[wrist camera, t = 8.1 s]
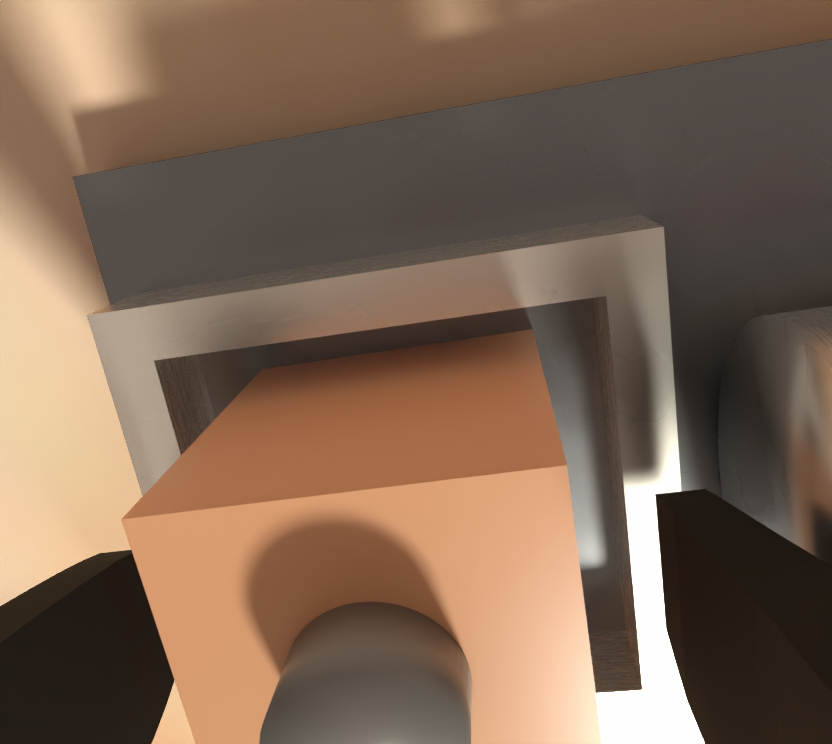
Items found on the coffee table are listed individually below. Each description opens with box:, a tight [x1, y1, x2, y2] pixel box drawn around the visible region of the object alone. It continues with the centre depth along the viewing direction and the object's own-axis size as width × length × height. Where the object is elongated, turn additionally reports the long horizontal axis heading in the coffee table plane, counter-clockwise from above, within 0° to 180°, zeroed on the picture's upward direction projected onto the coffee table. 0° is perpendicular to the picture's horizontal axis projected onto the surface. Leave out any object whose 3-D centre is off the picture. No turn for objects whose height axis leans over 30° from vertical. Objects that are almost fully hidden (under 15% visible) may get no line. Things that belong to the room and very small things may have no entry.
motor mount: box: [73, 39, 832, 744], centre depth 10 cm, size 20×12×7 cm, turn 100°
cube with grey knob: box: [121, 329, 602, 744], centre depth 10 cm, size 4×4×6 cm
